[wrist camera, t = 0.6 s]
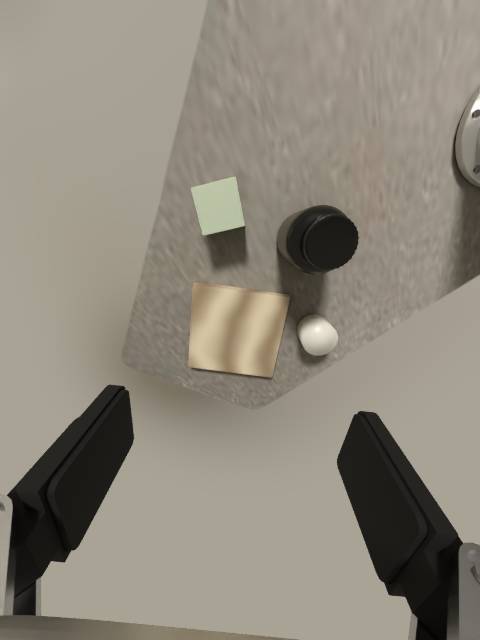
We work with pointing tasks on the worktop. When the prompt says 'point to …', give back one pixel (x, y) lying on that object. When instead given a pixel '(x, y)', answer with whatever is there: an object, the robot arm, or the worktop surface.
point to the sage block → (218, 206)
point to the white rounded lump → (317, 335)
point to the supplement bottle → (317, 239)
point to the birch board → (236, 329)
